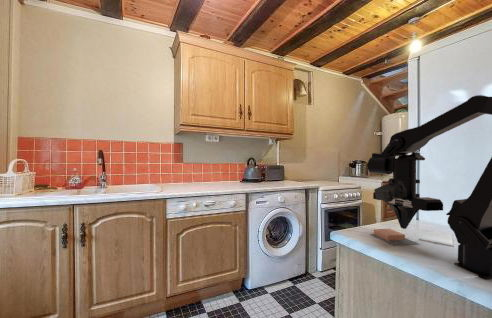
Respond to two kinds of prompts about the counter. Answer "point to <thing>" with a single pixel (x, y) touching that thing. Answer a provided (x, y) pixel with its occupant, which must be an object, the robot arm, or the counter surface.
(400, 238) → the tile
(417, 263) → the counter surface
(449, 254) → the counter surface
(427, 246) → the counter surface
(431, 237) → the hard drive
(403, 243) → the mat
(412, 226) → the counter surface
